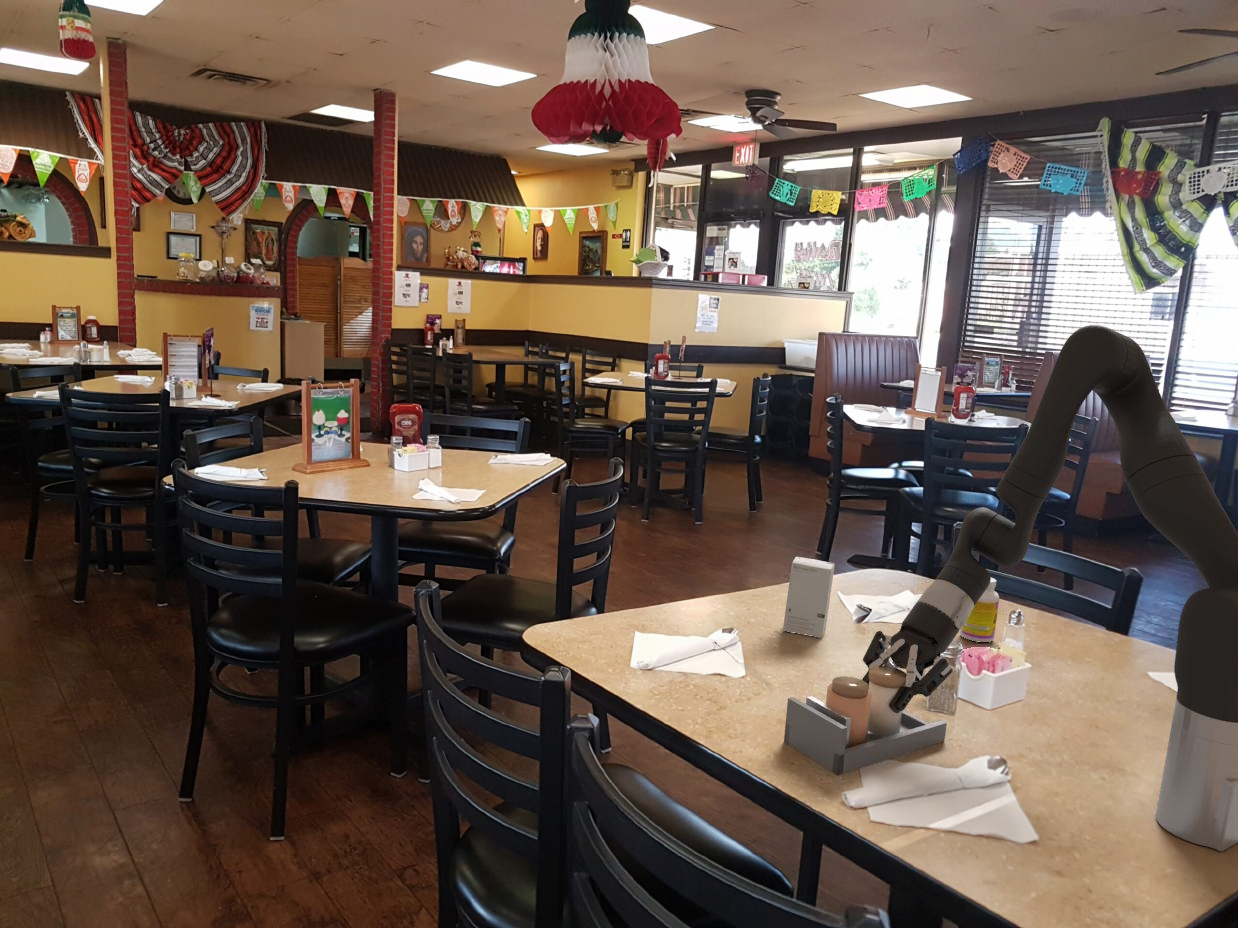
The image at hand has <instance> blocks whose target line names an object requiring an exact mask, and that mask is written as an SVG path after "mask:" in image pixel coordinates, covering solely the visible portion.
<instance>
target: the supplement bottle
mask: <svg viewBox="0 0 1238 928" xmlns="http://www.w3.org/2000/svg"><path fill="white" fill-rule="evenodd" d="M996 586H997V580H996V579H995V578H993V577H991V581H990V584H989V586H988V587H987V589H986V590H985V592H984V593H983V594H982V596H981V597H980V599H979V600H978V602H977V603H976V604H975V606H974V608H973V609H972V611H971V613H970V615H969V617H968V619H967V620H966V622H965V623H964V625H963V626H962V628H961V629H960V630H959V634H960V636H961V637H962V638H963V637H964V638H963V639H965V638H966V639H965V640H967V639H969V640H973V641H980V642H989V643H991V641H992V642H993V641H994V639H995V634H996V626H997V619H998V612H999V602H1000V596H999V593H998V592H997V591H995V589H996ZM969 640H968V641H969Z"/></svg>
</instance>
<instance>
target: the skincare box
mask: <svg viewBox="0 0 1238 928" xmlns="http://www.w3.org/2000/svg"><path fill="white" fill-rule="evenodd" d="M835 565H836V564H835V563H834V562H830V561H829V562H828V561H824V560H823V561H822V560H819V559H813V558H807V557H801V556H795V557H794V559H793V561H792V563H791V568H790V574H789V581H788V582H789V583H788V590H787V598H786V604H785V612H784V619H783V626H782V627H783V628H782V630H783V631H788V632H795V633H800V634H807V635H812V636H815V637H814V638H816V637H821V638H820V639H823V636H824V634H825V632H826V630H827V621H828V616H829V615H828V614H829V608H830V603H831V602H830V601H831V592H832V587H833V580H834V573H835Z"/></svg>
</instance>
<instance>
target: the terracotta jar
mask: <svg viewBox="0 0 1238 928" xmlns="http://www.w3.org/2000/svg"><path fill="white" fill-rule="evenodd" d="M868 687H869V686H868V684H867V683H866V682H865V681H863V680H862V679H861V678H857V677H853V676H845V675H843V676H836V677H834V678H833V679H832V683H830V684H829V685H828V686H827V689H826V690H827V691H826V696H825V697H826V699H825V704H827V705H829V706H831V707H832V708H834V709H836V710H838V711H840V712H842V713H843V714H845V715H847V716H849V717H851V725H850V735H849V744H848V748H851V747H854V746H857V745H861V744H864V743H867V735H868V726H869V717H870V708H871V699H872V693H871V692H870V691H869V690H868Z"/></svg>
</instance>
